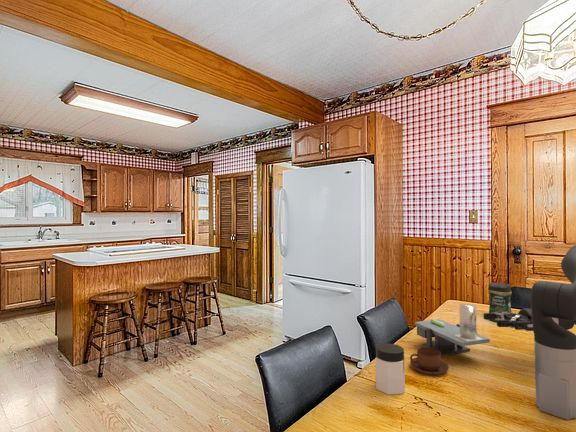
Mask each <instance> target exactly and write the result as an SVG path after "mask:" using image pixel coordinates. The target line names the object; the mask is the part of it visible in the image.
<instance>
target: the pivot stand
mask: <svg viewBox="0 0 576 432" xmlns="http://www.w3.org/2000/svg"><path fill="white" fill-rule="evenodd" d="M456 326H458V327H460V323H457V324H456ZM433 338H434V344H433ZM433 338H432V329H430V328H426V338H425V339H426V345H421V346H420V348H423V347H427V348H433V349H436V350H438V351H440V352H441V357H442V356H449V355H455V354H456V355H457V354H463V353H469V352H471V348H470V347H468V346H460V345H457V344H455V343H453V342H451V341H449V340H446V339H444V338H442V337H440V336H438V335H436V334H434V337H433Z"/></svg>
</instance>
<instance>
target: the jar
mask: <svg viewBox="0 0 576 432" xmlns="http://www.w3.org/2000/svg"><path fill="white" fill-rule="evenodd" d="M374 359H375V361H374V362H375V389H376V390H377V391H380V392H382V393H384V394H385V395H389V396H390V395H403V394H404V391H405V388H406V376H405V375H406V373H405V372H406V371H405V349H404V348H403V346H401V345H399V344H396V343H387V342H386V343H379V344H377V345H376V346H375V358H374Z"/></svg>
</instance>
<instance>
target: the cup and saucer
mask: <svg viewBox="0 0 576 432" xmlns="http://www.w3.org/2000/svg"><path fill="white" fill-rule="evenodd" d="M416 351H417V352H416V353H412V354H411V355H410V357H409V360H410V363H409V364H410V366H411V367H412V368H413V369H414V370H416V371H418V372H420V373H423V374H427V375H441V374H445V373H447V372H448V371H449V367H450V366H449V364H448V363H447V362H445V361H443V360H442V359H441V358H442V356H441V352H440V351H438V350H436V349H433V348H427V347H423V348H417V350H416Z"/></svg>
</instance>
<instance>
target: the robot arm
mask: <svg viewBox="0 0 576 432" xmlns="http://www.w3.org/2000/svg"><path fill="white" fill-rule="evenodd" d="M560 264H561V265H560V267H561V270H562V273H563V274H564V276H565V277H566V279H568V281H569V282H570V283H564V282H563V283H561V282H555V281H546V280H545V281H544V280H539V281H535V282H534V283H533V285H532V286H531V290H530V306H531V307H530V308H521V309H520V310H519V311H518V313H516V312H512V311H511V313H510V311H493V313H489V312H484V313H483V315H482V316H483V319H484V320H488V321H491V320H497V322H496V327H498V328H509V329H514V330H516V331H519V330H520V331H524V330H525V331H526V332H533V339H534V342H533V346H534V377H535V378H534V383H535V384H534V385H535V404H536V406H537V407H538V410H539V411H540V412H543V413H547V414H548V415H553V416H556V417H559V418H561V419H563V420H567V421H569V420H570V419H576V333H574V332H573V331H570V330H571V329H572V328H574V326H575V325H576V244H575V245H574V246H572V247H570V248H569V250H567V252H566V253H565V255H564V256H563V258H562V260H561V263H560ZM498 315H499V316H498ZM504 318H506V320H504Z"/></svg>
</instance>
